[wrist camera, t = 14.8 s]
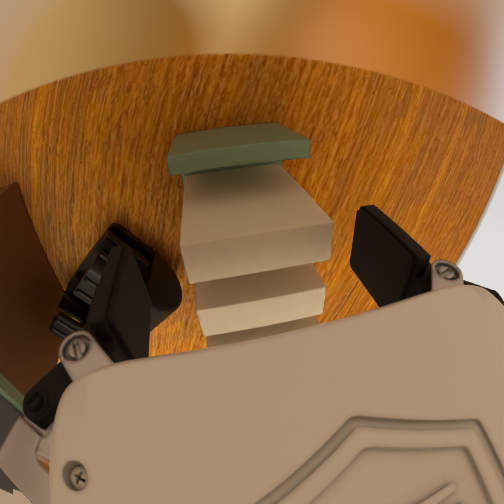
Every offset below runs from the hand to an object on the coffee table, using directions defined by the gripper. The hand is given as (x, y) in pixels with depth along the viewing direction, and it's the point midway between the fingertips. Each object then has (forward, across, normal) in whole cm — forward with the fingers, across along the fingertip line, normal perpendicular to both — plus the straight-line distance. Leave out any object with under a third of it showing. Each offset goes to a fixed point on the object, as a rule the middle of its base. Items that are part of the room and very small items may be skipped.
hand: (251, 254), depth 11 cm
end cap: (+11, +10, +8) cm, 17 cm away
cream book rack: (+10, -1, +5) cm, 12 cm away
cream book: (+10, -1, +1) cm, 10 cm away
